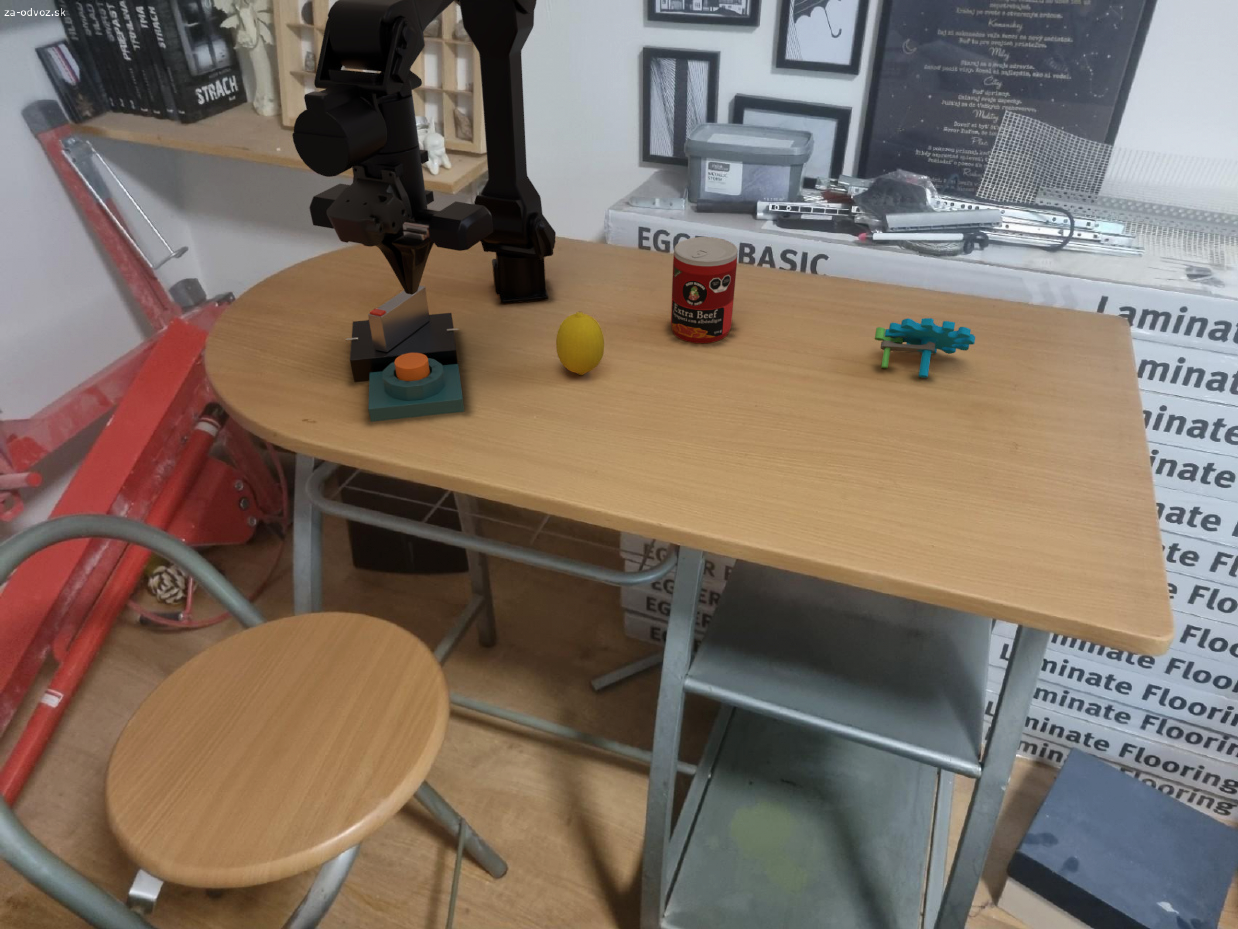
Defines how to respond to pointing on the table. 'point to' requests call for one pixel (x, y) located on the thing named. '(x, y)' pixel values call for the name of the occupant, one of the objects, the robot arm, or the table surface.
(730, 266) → the canned food
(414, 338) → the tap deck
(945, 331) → the gear
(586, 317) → the lemon
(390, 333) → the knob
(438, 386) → the control block
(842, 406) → the table surface
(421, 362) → the button
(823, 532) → the table surface
